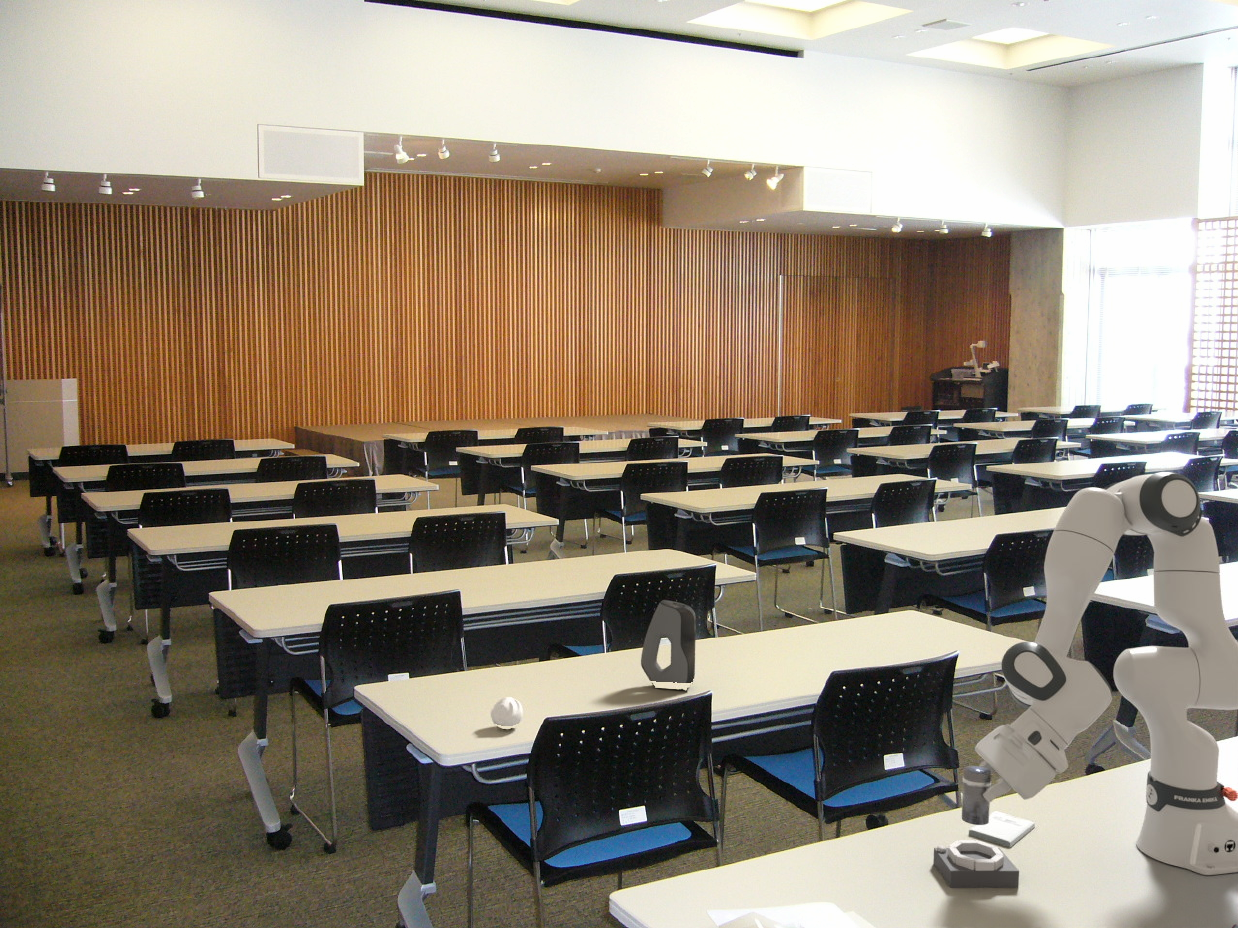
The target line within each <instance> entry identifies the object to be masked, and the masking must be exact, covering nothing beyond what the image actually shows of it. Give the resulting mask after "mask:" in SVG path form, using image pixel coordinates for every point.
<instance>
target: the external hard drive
mask: <svg viewBox="0 0 1238 928" xmlns="http://www.w3.org/2000/svg"><path fill="white" fill-rule="evenodd" d="M1035 825H1036V824H1035V821H1031V820H1030V819H1029V820H1028V819H1025V818H1022V817H1018V816H1014V815H1011V814H1008V813H1004V812H1001V811H997V810H995V811H993V812H992V813H989V823H988V824H985V825H974V826H972V827H970V829H969V830H968V835H969V836H971V837H975V838H979V839H981V840H985V841H988V842H991V843H994V844H998V845H1001V846H1004V847H1007V848H1011V847H1013V846H1014V845H1015V844H1016V843H1018V842H1019V841H1020V840H1021V839H1023V838H1024V837H1025V836H1026V835H1027V834H1028V833H1029V832H1031V831H1032V830H1033V829H1034V828H1035Z"/></svg>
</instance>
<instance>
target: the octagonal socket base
mask: <svg viewBox="0 0 1238 928" xmlns="http://www.w3.org/2000/svg"><path fill="white" fill-rule="evenodd" d="M933 865H934V867H935V868H936V869H937V872H938V873H940V875H941V877H942V878H943V880H944V881H945V882H946V884H947V886H948V887H949V888H952V889H954V888H959V889H961V888H963V889H964V888H967V889H968V888H973V889H974V888H978V889H979V888H984V889H985V888H986V889H987V888H994V889H995V888H997V889H998V888H1001V889H1003V888H1007V889H1008V888H1010V889H1011V888H1012V889H1013V888H1016V889H1017V888H1019V885H1020V883H1019V882H1020V870H1019V869H1018V868H1017V867H1016V865H1014V863H1013V862H1012V860H1010V858H1009V857H1008V856H1007V855H1006V854H1005V852H1004V851H1003V850H1002V849H1001V848H1000V847H998V846H996V845H993V844H990V843H987V842H986V841H985V842H984V841H981V840H977V839H958V840H955V841H954V842H952V843H951V844H949V845H948V847H946V846H944V845H938V846H936V847H933Z"/></svg>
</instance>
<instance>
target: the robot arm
mask: <svg viewBox="0 0 1238 928" xmlns="http://www.w3.org/2000/svg"><path fill="white" fill-rule="evenodd" d="M1202 516H1203V510H1202V505H1201V498H1200V495H1199V492H1198V489H1197V488H1196V486H1195V484H1194V483H1193V482H1192V481H1191V480H1190V478H1188V477H1187V476H1185V475H1183V474H1181V473H1177V472H1172V471H1161V472H1156V473H1150V474H1141V475H1140V474H1139V475H1136V476H1133V477H1131V478H1129V479H1126V480H1123V481H1118V482H1114V483H1111V484H1109V485H1107V486H1105V487H1104V488H1101V487H1100V488H1099V487H1085V488H1082V489H1080V490H1077V492H1076V493H1074V495H1073V497H1072V498H1071V499H1070V500H1069V502H1068V503H1067V506H1065V508H1064V510H1063V512H1062V513H1061V515H1060V517H1059V519H1058V521H1057V523H1056V525H1055V527H1054V530H1053V532H1052V534H1051V536H1050V539H1049V542H1048V546H1047V548H1046V553H1045V558H1044V565H1043V569H1044V571H1043V572H1044V580H1045V587H1046V604H1045V609H1044V610H1045V611H1044V614H1043V616H1042V620H1041V623H1040V624H1039V625H1040V626H1039V628H1038V631H1037V634H1036V636H1035V639H1034V641H1022V642H1018V643H1015V644H1013V645H1012V646H1010V647H1009V648H1008V649H1007V650H1006V652H1005V653H1004V655H1003V656H1002V658H1001V671H1002V676H1003V678H1004V680H1005V682H1006V684H1007V687H1008V689H1009V692H1010V695H1011V697H1012V699H1013V700H1014V701H1015V702H1016V704H1018V705H1019V706H1020V707H1021V708H1022V709H1025V711H1024V712H1023V713H1021V715H1020V716H1018V718H1016V719H1015V720H1014V721H1012V722H1011V723H1006V724H1002V725H999V726H997V727H995V728H994V729H993V730H992V731H990V732H989V733H988V734H986V735H985V736H984V737H982V739H980V740H979V741H978V742H977V744H976V746H975V748H974V751H975V752H976V753H977V754H978V755H979V757H981V758H982V759H983V761H982V762H981V763H980V764H979V765H978V766H980V767H984V768H987V769H989V770H990V771H991V775H992V774H993V773H994V772H995V773H996V774H998V776H999V778H998V779H997V780H996V782H995V784H993V785H991V786H990V787H988V786H987V787H986V788H985V789H984V790H983V791H982V792H981V794H982V796H983V797H984V798H985V799H986V800H987V801H988V802H990V803H991V802H993V801H994V800H995V799H996V798H997V797H1000V796H1002V795H1005V794H1007V793H1009V792H1010V791H1011V790H1012V789H1013V790H1014V792H1016V793H1017V794H1018V795H1019V797H1021V798H1022V799H1023V800H1029V799H1032V798H1034V797H1035V796H1036V795H1038V794H1039V793H1040V792H1041V791H1043V790H1044V789H1045V788H1046V787H1047V786H1048V785H1049V784H1050V783H1051V782H1052V781H1053V780H1054V779H1055V777H1056V775H1057V773H1058V774H1062V773H1064V772H1065V771H1066V770H1067V769H1068V768H1069V762H1068V759H1067V757H1066V752H1065V750H1066V749H1067V748H1068V747H1069V746H1070V745H1071V744H1072V741H1073V740H1074V738H1075V737H1076V736H1077V735H1078V734H1079V733H1081V732H1084V731H1087V729H1088V728H1089V727H1090V726H1091V725H1093V724H1094V723H1095V721H1097V719H1098V718H1099V717H1100V716H1101V715H1103V713H1104V712H1105V711H1106V709H1108V707H1109V706H1110V704H1111V702H1112V701H1113V691H1112V688H1111V685H1110V683H1109V682H1108V681H1107V679H1106V677H1105V676H1104V674H1103V673H1102V672H1101V671H1100V670H1099V669H1098V668H1097V667H1096V666H1095V665H1094V664H1093V663H1091V662H1090V661H1088V660H1078V659H1074V658H1070V657H1068V655H1069V653H1070V650H1071V647H1072V645H1073V642H1074V639H1075V637H1076V634H1077V631H1078V628H1079V625H1080V623H1081V621H1082V617H1083V615H1084V613H1085V611H1086V610H1087V608H1088V606H1089V604H1090V602H1091V601H1092V598H1093V596H1094V594H1095V593H1096V591H1097V590H1098V588H1099V585H1100V584H1101V582H1102V581H1103V578H1104V576H1105V575H1106V573H1107V571H1108V568H1109V567H1110V564H1111V562H1112V559H1113V558H1114V555H1115V552H1116V550H1117V548H1118V543H1119V541H1120V539H1121V537H1131V536H1147V538H1148V539H1149V541H1150V544H1151V545H1152V549H1153V552H1154V553H1153V604H1154V605H1153V606H1154V610H1155V613H1156V614H1157V616H1158V617H1159V619H1161V620H1162V621H1163V622H1165V623H1166V624H1168V625H1170V626H1171V627H1174V628H1176V629H1178V630H1180V631H1181V632H1182V633H1183V634H1184V635H1185V637H1186V640H1187V643H1188V647H1179V646H1178V647H1177V646H1163V645H1161V646H1159V645H1149V646H1148V645H1147V646H1146V645H1145V646H1140V647H1139V646H1138V647H1131V648H1126V649H1124V650H1123V651H1122V652H1121V653H1120V654H1119V655H1118V657H1117V658H1116V661H1115V663H1114V665H1113V680H1114V684H1115V686H1116V688H1117V690H1118V691H1119V692H1120V694H1121V695H1122V697H1123V698H1125V699H1126V700H1127V701H1129V702H1130V703H1131V704H1132V705H1133V706H1134V707H1135V708H1136V709H1137V710H1138V711H1139V713H1140V714H1141V715H1142V717H1143V719H1144V721H1145V723H1146V725H1147V729H1148V732H1149V738H1150V767H1149V769H1150V770H1149V771H1148V772H1147V778H1146V788H1145V789H1146V791H1145V792H1146V793H1145V798H1146V799H1145V800H1146V801H1145V802H1146V807H1145V814H1144V819H1143V822H1142V826H1141V829H1140V831H1139V835H1138V837H1137V839H1136V846H1137V848H1138V849H1139V850H1140V851H1141V852H1143V854H1145V855H1146V856H1148V857H1150V858H1152V859H1154V860H1156V861H1159V862H1162V863H1164V864H1167V865H1171V866H1175V867H1180V868H1182V869H1186V870H1188V871H1193V872H1194V873H1198V874H1201V875H1204V876H1212V875H1213V876H1214V875H1222V874H1223V875H1224V874H1229V873H1230V874H1231V873H1233V874H1234V873H1238V811H1236V810H1235V809H1234V808H1232V807H1231V806H1230V805H1229V804H1228V803H1226V800H1225V798H1226V799H1227V800H1229V801H1230V802H1236V801H1237V799H1238V792H1237V791H1236V790H1234V789H1233V788H1232V787H1229V786H1227V787H1225V785H1223V784H1222V782H1219V781H1218V772H1219V755H1220V749H1219V745H1218V743H1217V740H1216V739H1215V737H1214V736H1213V735H1212V734H1211V733H1210V732H1209V731H1207V730H1205V729H1204V728H1202V727H1200V726H1199V725H1197V724H1195V723H1193V722H1191V721H1190V720H1188V716H1187V713H1188V710H1189V709H1204V710H1205V709H1206V710H1222V711H1233V710H1238V640H1237V639H1236V638H1235V637H1234V635H1233V633H1232V632H1231V630H1230V628H1229V626H1228V624H1227V622H1226V618H1225V615H1224V609H1223V608H1224V607H1223V602H1222V590H1221V569H1220V568H1221V567H1220V559H1219V558H1220V557H1219V550H1218V545H1217V540H1216V536H1215V532H1214V529H1213V526H1212V524H1211V523H1210V522H1209V521H1208V520H1207V519H1205V518H1203V517H1202Z"/></svg>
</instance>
